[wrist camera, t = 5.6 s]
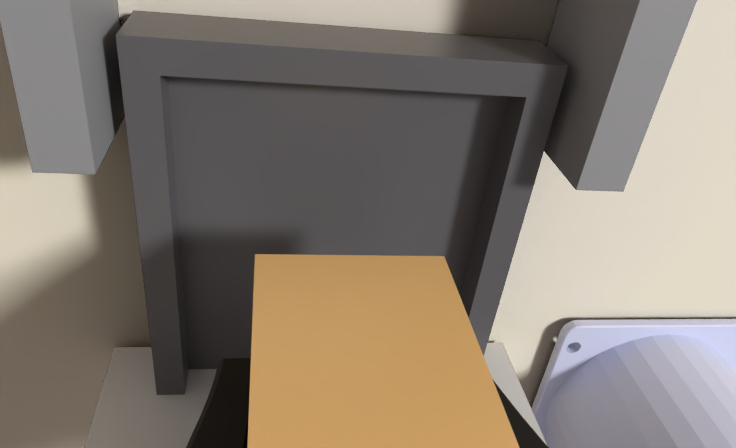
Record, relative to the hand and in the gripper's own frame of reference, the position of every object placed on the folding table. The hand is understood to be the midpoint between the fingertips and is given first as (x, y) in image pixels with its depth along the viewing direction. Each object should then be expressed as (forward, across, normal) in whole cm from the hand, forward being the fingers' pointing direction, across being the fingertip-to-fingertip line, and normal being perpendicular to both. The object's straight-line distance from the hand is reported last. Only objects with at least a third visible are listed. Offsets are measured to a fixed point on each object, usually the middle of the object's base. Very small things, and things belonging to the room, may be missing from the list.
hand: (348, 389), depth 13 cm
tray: (+6, 0, 0) cm, 6 cm away
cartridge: (+1, 0, 0) cm, 1 cm away
